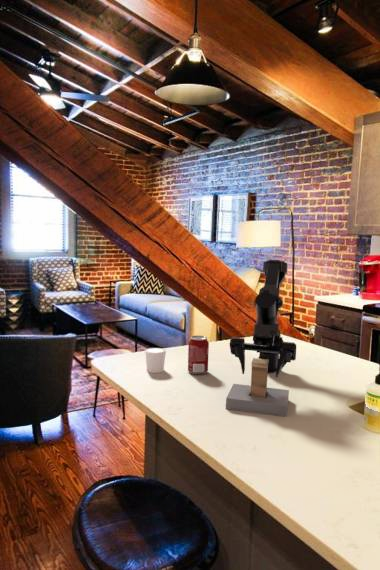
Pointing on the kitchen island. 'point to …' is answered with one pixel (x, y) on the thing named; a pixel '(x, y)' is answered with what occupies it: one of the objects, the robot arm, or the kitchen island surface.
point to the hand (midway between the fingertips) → (259, 375)
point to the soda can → (198, 355)
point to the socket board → (258, 400)
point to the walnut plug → (259, 377)
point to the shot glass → (155, 359)
